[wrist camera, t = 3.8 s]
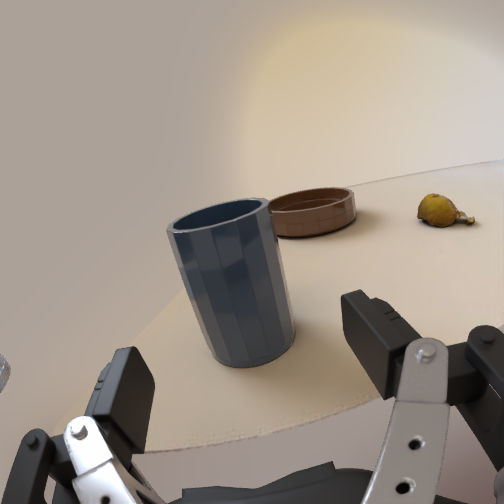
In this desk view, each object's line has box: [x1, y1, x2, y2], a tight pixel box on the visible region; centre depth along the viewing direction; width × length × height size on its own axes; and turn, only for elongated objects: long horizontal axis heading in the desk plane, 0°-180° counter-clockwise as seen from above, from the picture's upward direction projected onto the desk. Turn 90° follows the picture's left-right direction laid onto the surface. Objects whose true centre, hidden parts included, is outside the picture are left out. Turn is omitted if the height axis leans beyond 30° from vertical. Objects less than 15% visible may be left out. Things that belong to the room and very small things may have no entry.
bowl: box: [270, 187, 356, 237], centre depth 44 cm, size 14×14×4 cm
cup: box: [166, 198, 295, 368], centre depth 20 cm, size 7×7×10 cm
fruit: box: [417, 194, 475, 227], centre depth 33 cm, size 8×8×4 cm
